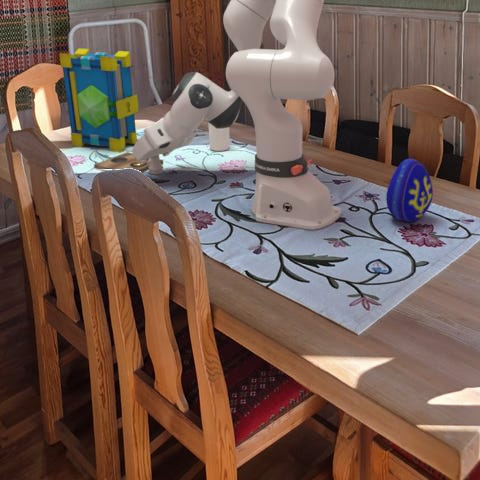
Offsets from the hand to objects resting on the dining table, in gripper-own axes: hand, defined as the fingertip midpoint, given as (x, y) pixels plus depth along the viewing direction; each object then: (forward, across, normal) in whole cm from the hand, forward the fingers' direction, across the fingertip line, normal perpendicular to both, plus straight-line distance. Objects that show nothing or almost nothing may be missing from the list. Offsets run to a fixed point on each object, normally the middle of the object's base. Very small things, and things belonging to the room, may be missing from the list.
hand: (153, 157), depth 199 cm
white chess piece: (+3, 0, +4) cm, 5 cm away
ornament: (-49, -14, +56) cm, 76 cm away
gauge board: (+10, +1, -4) cm, 11 cm away
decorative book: (+28, -8, -21) cm, 36 cm away
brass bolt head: (+7, +1, -2) cm, 7 cm away
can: (+4, -28, +3) cm, 28 cm away
